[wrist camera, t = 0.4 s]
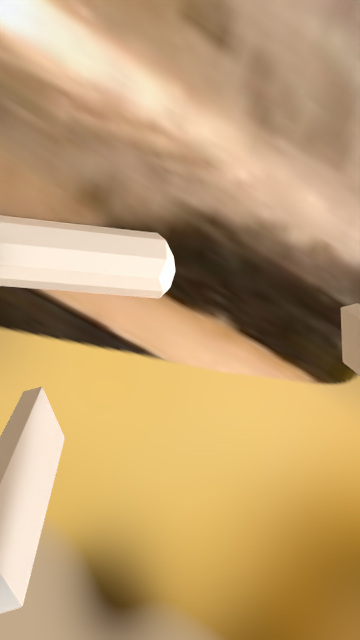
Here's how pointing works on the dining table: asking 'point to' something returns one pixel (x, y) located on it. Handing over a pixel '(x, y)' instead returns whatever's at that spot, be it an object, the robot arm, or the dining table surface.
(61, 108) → the dining table surface
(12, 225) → the crystal
